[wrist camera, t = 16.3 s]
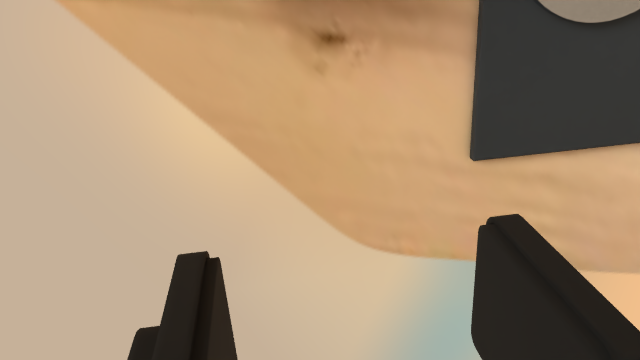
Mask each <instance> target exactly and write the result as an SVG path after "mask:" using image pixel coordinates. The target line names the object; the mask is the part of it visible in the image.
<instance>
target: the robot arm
mask: <svg viewBox="0 0 640 360" xmlns="http://www.w3.org/2000/svg"><path fill="white" fill-rule="evenodd" d="M471 334H472V339H473V343H474V346H475V347H476V350H477V351H478V353H479V355H480V357H481V358H482V360H640V331H639V330H638V329H637V328H636V327H635V326H633V324H632V323H631V322H630V321H628V320H627V319H626V318H625V317H624V316H623V315H622V314H621V313H620V312H619V311H618V310H617V309H616V308H615V307H614V306H613V305H612V304H611V303H610V302H609V301H608V300H607V299H606V298H605V297H604V296H603V295H602V294H601V293H600V292H599V291H598V290H597V289H596V288H595V287H594V286H593V285H592V284H590V283H589V282H588V281H587V280H586V279H585V278H584V277H583V276H582V275H581V274H580V273H579V272H578V271H577V270H576V269H575V268H574V267H573V266H572V265H571V264H570V263H569V262H568V261H567V260H566V259H565V258H564V257H563V256H562V255H561V254H560V253H559V252H558V251H557V250H556V249H555V248H554V247H552V246H551V245H550V244H549V243H548V242H547V241H546V240H545V239H544V238H543V237H542V236H541V235H540V234H539V233H538V232H537V231H536V230H535V229H534V228H533V227H532V226H531V225H530V224H529V223H528V222H527V221H526V220H525V219H524V218H523V217H522V216H520V215H519V214H512V215H504V216H495V217H490V218H489V219H488V220H487V222H486V225H481V226H480V228H479V231H478V242H477V256H476V270H475V284H474V297H473V311H472V324H471ZM128 360H237V354H236V348H235V342H234V338H233V331H232V325H231V319H230V314H229V308H228V302H227V297H226V291H225V285H224V280H223V274H222V268H221V263H220V259H219V257H216V258H210V257H209V254H208V252H207V251H205V252H196V253H188V254H180V255H178V256H177V259H176V263H175V267H174V271H173V275H172V279H171V284H170V287H169V291H168V295H167V300H166V304H165V308H164V312H163V316H162V320H161V324H160V326H155V327H147V328H140V329H139V330H138V331H137V332H136V335H135V337H134V340H133V343H132V347H131V350H130V353H129V356H128Z"/></svg>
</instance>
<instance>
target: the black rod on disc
mask: <svg viewBox="0 0 640 360" xmlns="http://www.w3.org/2000/svg"><path fill="white" fill-rule="evenodd" d="M533 1H534V2H535V3H536V4H537V5H538V6H540V7H541V8H543V9H544V10H545V11H547V12H549V13H551V14H553V15H555V16H557V17H560V18H563V19H566V20H570V21H576V22H583V23H599V22H606V21H611V20H615V19H618V18H621V17H624V16H626V15H629V14H631V13H633V12H635V11H637V10H639V9H640V0H533Z"/></svg>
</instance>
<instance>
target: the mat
mask: <svg viewBox="0 0 640 360" xmlns="http://www.w3.org/2000/svg"><path fill="white" fill-rule="evenodd" d="M632 143H640V9H639V10H637V11H635V12H633V13H631V14H629V15H626V16H624V17H621V18H618V19H615V20H611V21H606V22H599V23H583V22H576V21H570V20H566V19H563V18H560V17H557V16H555V15H553V14H551V13H549V12H547V11H545V10H544V9H543V8H541V7H540V6H538V5H537V4H536V3H535V2H534V1H533V0H480V1H479V17H478V33H477V49H476V66H475V82H474V98H473V115H472V131H471V147H470V158H471V159H472V160H473V161H478V160H487V159H496V158H505V157H514V156H523V155H532V154H542V153H551V152H560V151H569V150H578V149H587V148H596V147H605V146H614V145H623V144H632Z"/></svg>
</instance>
